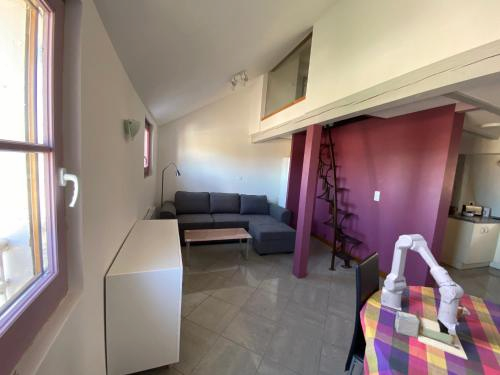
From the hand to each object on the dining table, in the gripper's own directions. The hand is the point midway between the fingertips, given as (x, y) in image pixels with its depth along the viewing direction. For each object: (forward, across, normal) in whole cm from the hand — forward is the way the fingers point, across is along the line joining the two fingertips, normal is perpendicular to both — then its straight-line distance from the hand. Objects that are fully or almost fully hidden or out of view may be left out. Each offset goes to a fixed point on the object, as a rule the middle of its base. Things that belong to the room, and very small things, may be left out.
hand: (443, 337), depth 96 cm
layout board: (+1, +3, +2) cm, 4 cm away
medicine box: (+2, -3, +15) cm, 15 cm away
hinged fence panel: (+1, -1, +3) cm, 4 cm away
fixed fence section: (+1, +5, +8) cm, 10 cm away
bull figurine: (+2, +20, -8) cm, 22 cm away
